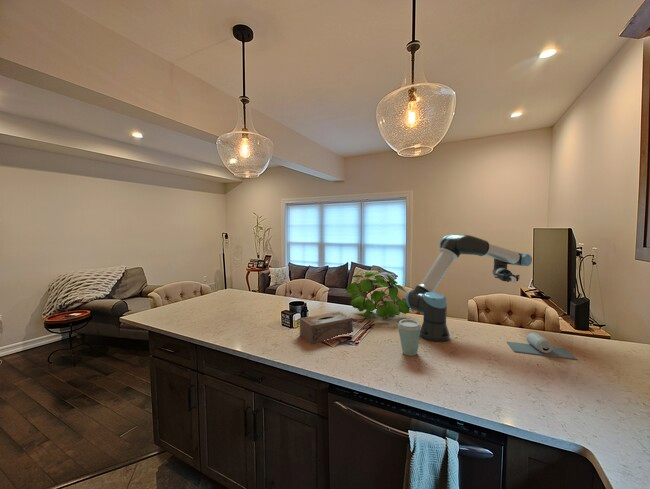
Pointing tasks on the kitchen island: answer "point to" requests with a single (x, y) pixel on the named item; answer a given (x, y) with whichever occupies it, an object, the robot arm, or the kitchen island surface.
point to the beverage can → (539, 342)
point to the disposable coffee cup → (409, 336)
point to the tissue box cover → (325, 326)
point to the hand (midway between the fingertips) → (514, 280)
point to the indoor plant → (377, 296)
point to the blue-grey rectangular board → (532, 350)
